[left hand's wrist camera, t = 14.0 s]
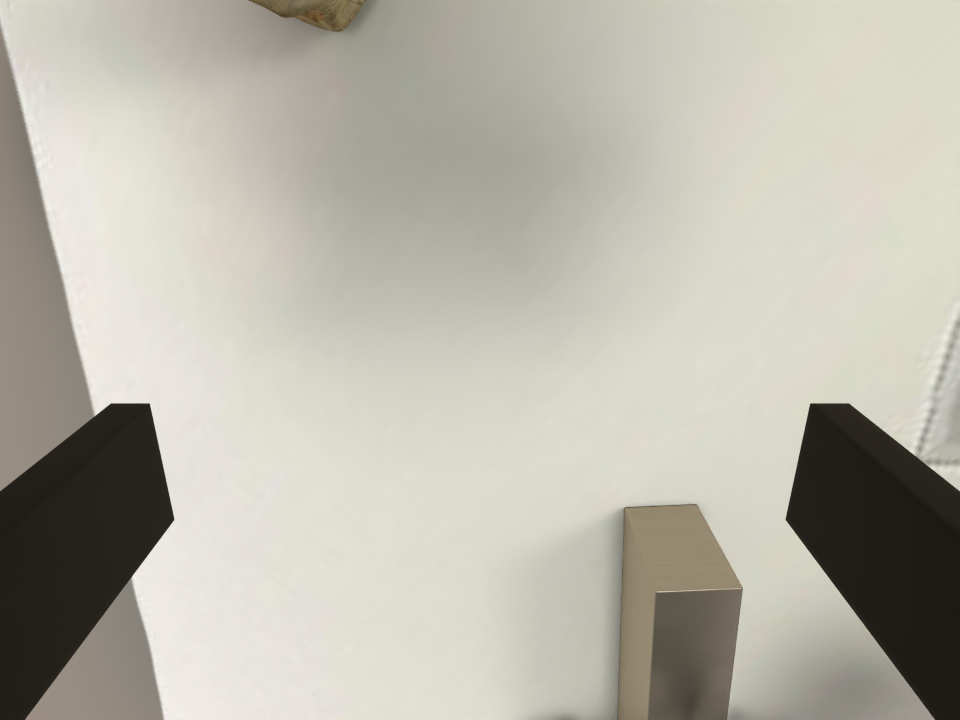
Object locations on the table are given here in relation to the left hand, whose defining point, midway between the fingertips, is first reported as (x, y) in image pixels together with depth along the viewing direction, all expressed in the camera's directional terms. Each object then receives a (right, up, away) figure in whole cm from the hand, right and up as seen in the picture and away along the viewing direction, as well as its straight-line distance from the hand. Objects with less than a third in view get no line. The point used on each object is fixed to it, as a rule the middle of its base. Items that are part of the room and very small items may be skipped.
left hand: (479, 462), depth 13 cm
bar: (+14, -20, +37) cm, 44 cm away
